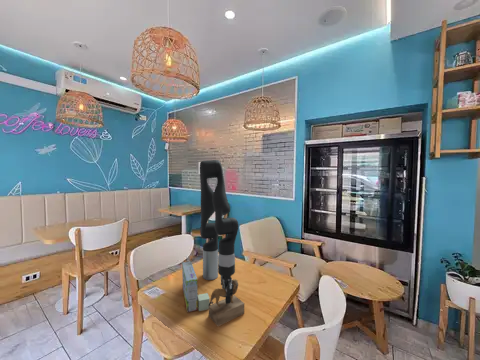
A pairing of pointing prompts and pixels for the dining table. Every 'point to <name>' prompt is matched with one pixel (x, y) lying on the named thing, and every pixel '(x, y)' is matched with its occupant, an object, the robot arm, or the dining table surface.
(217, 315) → the taupe rectangular block
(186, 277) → the snack box
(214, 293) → the lion figurine
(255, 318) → the dining table surface
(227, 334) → the dining table surface
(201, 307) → the sage cube
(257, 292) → the dining table surface
